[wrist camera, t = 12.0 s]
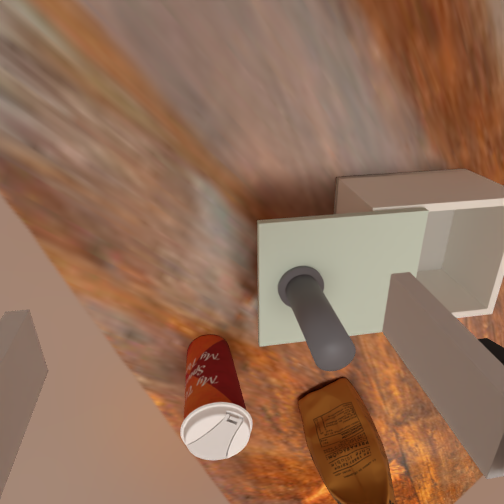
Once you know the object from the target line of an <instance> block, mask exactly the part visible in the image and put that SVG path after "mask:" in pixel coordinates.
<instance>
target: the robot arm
mask: <svg viewBox="0 0 504 504" xmlns="http://www.w3.org/2000/svg"><path fill="white" fill-rule="evenodd" d="M382 332H383V333H384V335H385V336H386V338H387V339H388V340H389V342H390V343H391V345H392V346H393V348H394V349H395V350H396V352H397V353H398V355H399V356H400V357H401V359H402V360H403V362H404V363H405V365H406V366H407V367H408V369H409V370H410V372H411V373H412V374H413V376H414V377H415V379H416V380H417V381H418V383H419V384H420V386H421V387H422V389H423V390H424V391H425V393H426V394H427V396H428V397H429V398H430V400H431V401H432V403H433V404H434V406H435V407H436V408H437V410H438V411H439V413H440V414H441V415H442V417H443V418H444V420H445V421H446V422H447V424H448V425H449V427H450V428H451V430H452V431H453V432H454V434H455V435H456V437H457V438H458V439H459V441H460V442H461V444H462V445H463V447H464V448H465V449H466V451H467V452H468V454H469V455H470V456H471V458H472V459H473V461H474V462H475V463H476V465H477V466H478V468H479V469H480V471H481V472H482V473H483V475H484V476H485V478H486V479H490V478H495V477H501V476H504V348H503V347H502V346H500V345H498V344H496V343H495V342H493V341H491V340H489V339H488V338H484V339H477V338H476V337H475V336H474V335H473V334H472V333H471V332H470V331H469V330H468V329H467V328H466V327H465V326H464V325H463V324H462V323H461V322H460V321H459V320H458V319H457V318H456V317H455V316H454V315H453V314H452V313H451V312H450V311H449V310H448V309H447V308H446V307H445V306H444V305H443V304H442V303H441V302H440V301H439V300H438V299H437V298H436V297H435V296H434V295H433V294H432V293H431V292H430V291H428V290H427V289H426V288H425V287H424V286H423V285H422V284H421V283H420V282H419V281H418V280H417V279H416V278H415V277H414V276H413V275H412V274H411V273H410V272H404V273H394V274H391V278H390V285H389V291H388V297H387V304H386V310H385V316H384V323H383V329H382ZM47 373H48V369H47V365H46V362H45V359H44V356H43V352H42V349H41V346H40V342H39V339H38V336H37V333H36V329H35V326H34V323H33V320H32V316H31V313H30V310H20V311H11V312H5V314H4V315H3V317H2V318H1V320H0V498H1V495H2V492H3V490H4V487H5V484H6V482H7V479H8V476H9V474H10V471H11V469H12V466H13V463H14V461H15V458H16V455H17V452H18V450H19V447H20V444H21V442H22V439H23V437H24V434H25V431H26V429H27V426H28V423H29V421H30V418H31V415H32V413H33V410H34V408H35V405H36V402H37V400H38V397H39V394H40V392H41V389H42V386H43V383H44V381H45V378H46V376H47Z"/></svg>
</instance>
